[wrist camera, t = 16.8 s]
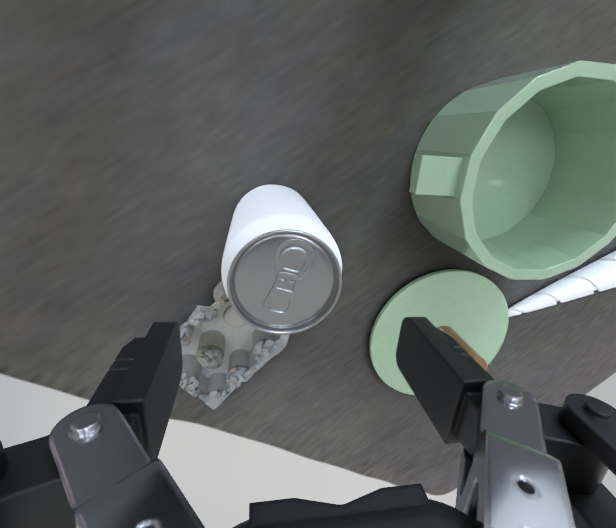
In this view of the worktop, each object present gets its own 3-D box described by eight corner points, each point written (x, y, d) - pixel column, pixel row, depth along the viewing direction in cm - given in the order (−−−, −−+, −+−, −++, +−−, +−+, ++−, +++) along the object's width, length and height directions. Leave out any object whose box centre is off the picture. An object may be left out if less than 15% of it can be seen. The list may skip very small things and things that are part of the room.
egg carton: (235, 262, 28) (232, 282, 24) (295, 315, 30) (301, 340, 27) (151, 342, 29) (136, 373, 25) (216, 386, 32) (211, 419, 28)
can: (322, 197, 27) (370, 242, 16) (297, 268, 29) (324, 352, 18) (244, 171, 25) (237, 202, 14) (223, 248, 27) (202, 327, 16)
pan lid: (378, 266, 30) (407, 296, 24) (519, 266, 32) (574, 294, 27) (358, 392, 35) (378, 441, 29) (480, 384, 37) (520, 428, 32)
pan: (393, 69, 24) (449, 43, 17) (609, 92, 27) (730, 78, 20) (368, 245, 29) (404, 280, 22) (554, 247, 32) (636, 279, 25)
